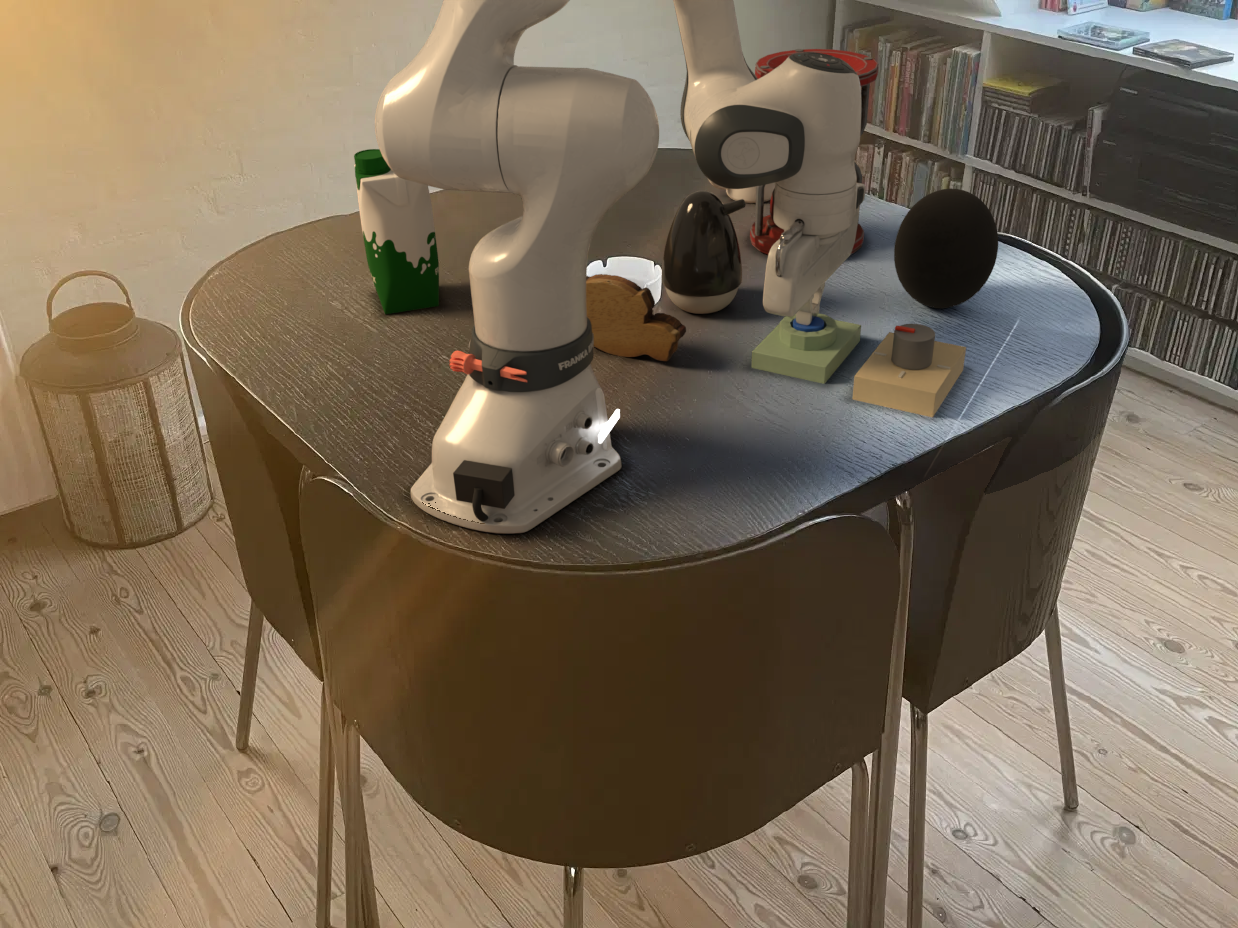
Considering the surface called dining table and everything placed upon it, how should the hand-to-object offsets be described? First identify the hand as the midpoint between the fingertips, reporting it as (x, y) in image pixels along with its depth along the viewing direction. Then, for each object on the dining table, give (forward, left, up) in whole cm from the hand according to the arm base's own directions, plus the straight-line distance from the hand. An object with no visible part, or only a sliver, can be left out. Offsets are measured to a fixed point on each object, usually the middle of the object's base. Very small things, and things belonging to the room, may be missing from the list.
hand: (807, 319), depth 137 cm
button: (0, 0, -2) cm, 2 cm away
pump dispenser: (+7, +17, -5) cm, 19 cm away
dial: (-2, -13, -1) cm, 14 cm away
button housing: (0, 0, -4) cm, 4 cm away
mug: (+46, +29, -5) cm, 54 cm away
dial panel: (-2, -13, -4) cm, 14 cm away
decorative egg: (+20, -10, -5) cm, 23 cm away
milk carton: (-8, +53, -5) cm, 54 cm away
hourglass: (+33, +13, -5) cm, 35 cm away
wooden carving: (-9, +20, -5) cm, 22 cm away
